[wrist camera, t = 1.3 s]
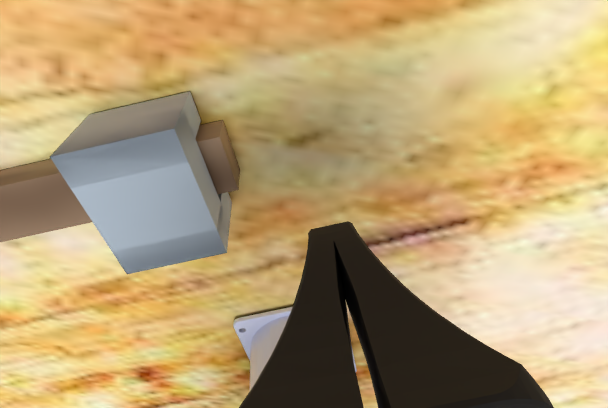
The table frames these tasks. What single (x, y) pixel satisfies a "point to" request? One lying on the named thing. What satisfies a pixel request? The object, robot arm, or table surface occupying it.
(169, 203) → the slider
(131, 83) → the table surface
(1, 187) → the brown piece
